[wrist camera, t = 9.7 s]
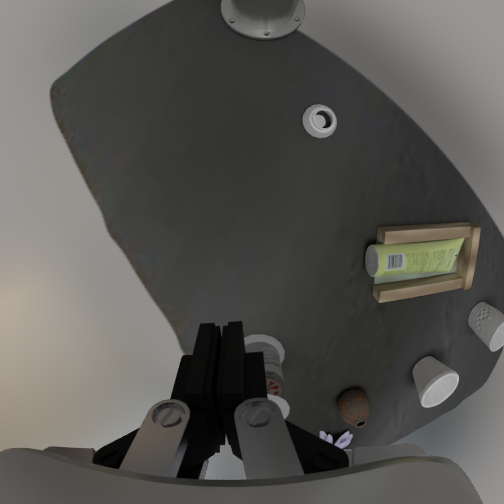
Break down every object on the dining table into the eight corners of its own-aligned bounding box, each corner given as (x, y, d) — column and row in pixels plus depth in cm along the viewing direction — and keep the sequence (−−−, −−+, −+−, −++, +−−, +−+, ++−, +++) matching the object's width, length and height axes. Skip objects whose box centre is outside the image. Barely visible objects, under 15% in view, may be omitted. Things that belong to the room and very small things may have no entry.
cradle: (377, 227, 43) (388, 233, 39) (467, 222, 43) (480, 227, 39) (372, 294, 47) (381, 305, 43) (459, 280, 47) (470, 288, 43)
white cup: (464, 334, 51) (487, 357, 42) (466, 307, 49) (492, 329, 40) (486, 320, 51) (509, 340, 41) (489, 293, 48) (515, 313, 39)
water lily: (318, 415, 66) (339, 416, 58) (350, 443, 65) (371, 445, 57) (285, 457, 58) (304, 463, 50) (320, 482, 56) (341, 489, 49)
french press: (277, 377, 52) (293, 490, 28) (217, 370, 51) (206, 486, 27) (290, 337, 49) (318, 458, 25) (224, 329, 48) (212, 453, 24)
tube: (360, 249, 45) (446, 245, 46) (364, 280, 44) (450, 271, 45) (375, 240, 40) (464, 237, 40) (379, 274, 38) (469, 265, 39)
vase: (358, 404, 56) (369, 432, 48) (331, 406, 56) (340, 435, 47) (368, 383, 54) (382, 411, 45) (339, 385, 53) (351, 415, 45)
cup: (444, 360, 54) (463, 383, 45) (413, 387, 56) (429, 413, 47) (432, 341, 51) (453, 365, 42) (397, 371, 53) (414, 398, 44)
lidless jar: (331, 103, 37) (298, 107, 37) (337, 100, 34) (302, 104, 35) (338, 135, 39) (306, 140, 39) (344, 134, 36) (310, 139, 36)
